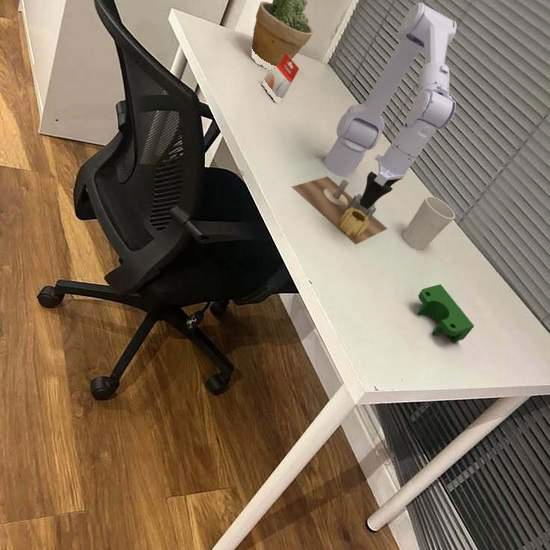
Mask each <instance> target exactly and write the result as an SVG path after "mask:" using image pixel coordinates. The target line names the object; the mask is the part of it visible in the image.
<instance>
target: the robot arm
mask: <svg viewBox="0 0 550 550" xmlns="http://www.w3.org/2000/svg"><path fill="white" fill-rule="evenodd" d="M457 29H458V27H457V21H455V20H454V19H450V18H449V17H447V16H445V15H443V14H442V13H439V12H438V11H436V10H435V9H432V8H431V7H430V6H427V5H426V4H424V3H423V2H418V3H415V5H413V6H412V7H411V8H410V9H409V10H408V12H407V14H406V15H405V18H404V19H403V21H402V23H401V25H400V26H399V28H398V31H397V33H396V35H397V36H398V38H399V39H400V40H398V41H399V42H398V44H397V45H396V47H395V49H394V51H393V52H392V55H391V56H390V57H389V60H388V62H386V65H385V66H384V68H383V70H382V72H381V74H380V75H379V77H378V79H377V80H376V82H375V84H374V86H373V88H372V90H371V91H370V93H369V95H368V96H367V98H366V100H365V102H363V103H360V104H353V105H350V106H349V107H348V108H347V110H346V111H345V113H344V114H343V115H342V116H341V117H340V120H339V121H338V122H337V123H338V124H337V127H336V130H335V131H336V136H337V138H336V140H335V142H334V144H333V145H332V147H331V149H330V150H329V152H328V153H327V155H326V156H325V158H324V160H323V164H324V166H325V167H326V169H327V170H328V171H330V172H331V173H332V174H334V175H335V176H338V177H342V178H347V177H348V176H349V175H351V174H352V173H355V172H356V170H357V169H358V167H359V165H360V164H361V162H362V161H363V159H364V157H365V156H366V152H367V151H371V150H372V149H374V148H375V147H376V146H377V144H378V143H379V140H380V138H381V135H382V133H383V131H384V129H385V120H384V118H383V116H382V114H383V112H384V110H385V109H386V107H387V105H388V104H389V103H390V101H391V99H392V98H393V96H394V94H395V93H396V90H397V89H398V87H399V85H400V84H401V83H402V81H403V78H405V76H406V74H407V72H408V71H409V68H410V67H411V66H412V65H413V62H414V60H415V59H416V58H417V55H418V54H420V53H423V52H424V60H425V61H424V63H425V65H424V66H422V68H421V69H420V71H419V76H418V90H417V91H418V93H417V95H416V96H415V99H414V100H413V102H412V104H411V107H410V110H409V112H408V114H407V115H406V117H405V122H404V124H403V126H402V127H401V128H400V130H399V131H398V133H397V135H396V137H394V139H393V141H392V142H391V143H390V145H389V147H388V148H387V149H386V151H385V153H384V154H383V156H382V155H381V154H376V155H375V157H374V160H376V161H377V163H378V174H376V173H374V172H373V171H370V172H369V173H368V174H367V176H366V184H365V188H364V191H363V194H362V198H361V201H360V205H361V206H363V207H364V208H365V209H367V210H368V209H369V208H370V207H371V206H372V205H373V204H376V202H377V201H379V199H381V198H382V197H383V196H385V195H387V194H389V193H391V191H393V189H394V188H393V187H391V186H392V185H395V184H396V183H397V182H398V181H401V180H403V178H405V176H406V174H407V172H408V170H409V169H410V168H411V166H412V164H413V163H414V162H415V160H416V159H417V158H418V156H419V155H420V153H421V152H422V150H423V149H424V148H425V146H426V145H427V144H428V143H429V141H430V140H431V138H432V137H433V135H434V134H435V132H436V131H437V130H442V129H444V128H445V127H447V126H448V124H450V122H451V120H452V118H454V115H455V113H456V106H457V102H456V100H455V99H453V96H451V95H450V68H449V67H448V65H446V64H445V63H446V56H447V50H448V46H449V45H450V43H451V42H452V41H453V39H454V37H455V36H456V33H457Z"/></svg>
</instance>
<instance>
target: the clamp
mask: <svg viewBox="0 0 550 550" xmlns="http://www.w3.org/2000/svg"><path fill="white" fill-rule="evenodd" d="M418 299H419V300H420V302H421V303H422V307H421V308H420V310H419V311H418V312H417V316H418V317H420V316H424V315H425V316H429V317H431V318H432V319H433V320H434V321H435V322H436V324H437V326H436V327H435V328H434V330H433V331H432V332H431V334H432V336H437V335H441V334H445V335H446V337H447V338H448V339H449V340H450V342H452V343H457V342H459V341H463V340H464V339H465V338H466V337H467V335H468V334H469V333H470V332H471V331H472V329H474V327H475V325H474V323H473V322H472V321H471V320H470V318H469V317H468V316H467V315H466V314H465V312H464V311H463V310H462V308H461V307H460V306H459V305H458V304H457V303H456V301H455V300H454V299H453V298H452V296H451V295H450V294H449V293H448V292H447V290H446V289H445V287H444V286H443V285H442V284H441V283H440V284H436V285H432V286H428V287H425V288H422V289H421V290H420V292H419V294H418Z"/></svg>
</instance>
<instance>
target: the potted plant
mask: <svg viewBox="0 0 550 550" xmlns="http://www.w3.org/2000/svg"><path fill="white" fill-rule="evenodd" d="M307 5H308V0H272V2H269V1H268V2H267V1H261V2H260V4H259V5H258V10H257V12H256V15H255V20H256V21H255V23H254V27H253V36H252V43H251V47H252V49H253V51H254V52H255V54H257V55H258V56H259V57H260V58H261V59H263V60H264V61H266V62H268V63H270V64H271V65H274V66H278V65H279V64H280V62H281V60H282V58H283V56H284V53H286V54H287V55H288V56H289V58H290V59H291V60H292V61H293V59H294V57H296V55H297V54H298V53H299V52H300V51H301V49H302V48H303V46H305V45H306V44H307V43H308V41H309V40H310V38H312V35H313V34H314V30H313V29H312V27H311V26H310V25H309V22H310V20H309V19H308V17H307V14H305V13H304V11H305V8H306V6H307ZM289 63H290V62H289V61H287V64H288V65H289Z"/></svg>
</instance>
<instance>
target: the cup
mask: <svg viewBox="0 0 550 550" xmlns="http://www.w3.org/2000/svg"><path fill="white" fill-rule="evenodd" d="M455 218H456V214H455V212H454V210H453V209H452V208H451V207H450V206H449V205H448V204H447V203H446V202H445V201H443V200H441V199H440V198H438V197H435V196H433V195H427V196H425V198H424V200H423V202H422V203H421V204H420V206H419V207H418V209H417V212H416V213H415V214H414V216H413V217H412V219H411V221H410V222H409V223H408V225H407V227H406V228H405V229H404V231H403V232H402V234H401V236H402V239H403V241H404V242H405V243H406V244H407V245H408V246H410V248H412V249H414V250H416V251H419V252H420V251H424V250H425V249H426V248H427V247H428V246H429V244H430V243H431V242H432V241H433V240H435V239H436V237H438V236H439V234H440V233H441V232H442V231H443V230H444V229H445V228H446V227H447V226H448V225H449V224H450V223H451V222H452V221H453V220H454V219H455Z"/></svg>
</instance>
